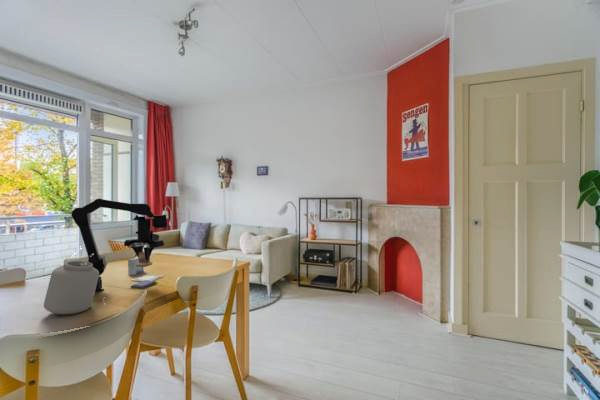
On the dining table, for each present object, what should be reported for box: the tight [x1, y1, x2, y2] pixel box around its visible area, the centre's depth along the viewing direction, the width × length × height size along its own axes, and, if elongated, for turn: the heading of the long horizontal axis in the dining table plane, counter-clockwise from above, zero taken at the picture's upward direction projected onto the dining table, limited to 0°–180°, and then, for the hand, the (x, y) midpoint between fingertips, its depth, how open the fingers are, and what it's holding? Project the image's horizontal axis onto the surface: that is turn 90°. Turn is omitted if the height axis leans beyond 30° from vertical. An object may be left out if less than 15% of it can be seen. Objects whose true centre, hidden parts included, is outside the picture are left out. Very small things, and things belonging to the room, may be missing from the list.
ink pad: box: [130, 280, 158, 290], centre depth 142 cm, size 9×7×1 cm
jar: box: [43, 245, 106, 315], centre depth 111 cm, size 19×15×25 cm
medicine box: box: [127, 256, 144, 276], centre depth 165 cm, size 8×4×9 cm, turn 179°
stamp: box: [136, 250, 153, 268], centre depth 142 cm, size 5×5×7 cm
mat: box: [130, 274, 165, 283], centre depth 154 cm, size 11×11×1 cm
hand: (144, 260), depth 142 cm, fingers closed on stamp, 3 cm apart
